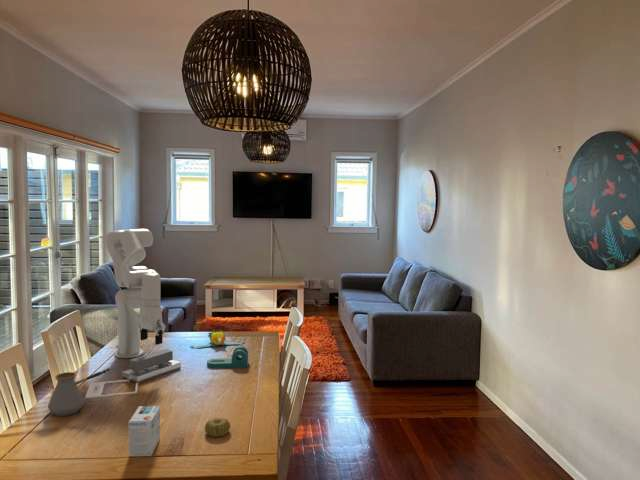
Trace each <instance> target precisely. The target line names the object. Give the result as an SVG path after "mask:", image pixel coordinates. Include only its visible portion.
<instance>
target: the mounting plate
mask: <svg viewBox="0 0 640 480" xmlns="http://www.w3.org/2000/svg"><path fill="white" fill-rule="evenodd" d="M181 364H182V363H181V361H178V360H175V359H173V360H171V361H169V364H166V365H163V366H162V365H159V364H158V365H155V366H152V367H149V368H146V369H145V372H143V373H140V374H138V373H135V371H134V370H131V369H130V368H129V369H127V370H123V371H121V376H122V377H121V378H122V380H129V381H128V382H130V383H132V384H133V383H134V384H136V383H138V385H139V384H141V383H144V382H147V381H149V380H153V379H157V378H159V377H162V376H164V375H167V374H169V373H173V372H176V371H178V370H181V368H182V365H181Z"/></svg>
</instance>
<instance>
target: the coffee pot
mask: <svg viewBox="0 0 640 480" xmlns="http://www.w3.org/2000/svg"><path fill="white" fill-rule="evenodd" d="M107 372H109V374H110V375H112V374H113V369H112V368H107V369H103V370H101V371H99V372H96V373H93V374H91V375H89V376H87V377H85V378H83V379H82V378H81V379H80V380H78V381H75V378H76V376H77V374H76V372H72V371H71V372H70V371H69V372H62V373H59V374H56V375H55V379H56V381H57V383H56V385H55V388H54V390H53V392H52V394H51V397H50V400H49V401H48V405H47V408H48V410H49V411H50V412H51V413H52V414H54V415H55V416H59V417H64V416H70V415H74V414H76V413H77V412H79V410H80V409H81V408H83V406H84V404H85V402H86V401H85V400H86V398H85V397H84V396H83V394H82V392H81V390H80V388H79V386H78V384H81V383H83V382H85V381H88V380H91V379H94V378H96V377H100V376H101V375H103V374H106V373H107Z"/></svg>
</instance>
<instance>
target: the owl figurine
mask: <svg viewBox="0 0 640 480" xmlns="http://www.w3.org/2000/svg"><path fill="white" fill-rule="evenodd" d="M207 336H208V338H209V339H210V340H209V341H210V342H211V343H208V344H202V345H196V346H194V345H190V346H189V347H190V348H191V350H196V349H201V348H202V349H203V348H210V347H217V346H230V345H233V346H234V345H236V346H237V345H240V346H241V345H244V344H242V343H245V341H243V340H242V341H240V342H241V344H240V343H234V342H225V341H226V338H227V337H226V333H225V332H224V330H222V329H214V330H212V331H211V332H208V334H207Z"/></svg>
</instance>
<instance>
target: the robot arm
mask: <svg viewBox="0 0 640 480" xmlns="http://www.w3.org/2000/svg"><path fill="white" fill-rule="evenodd" d="M153 243H154V236H153V233H152V231H150V230H149V229H147V228H135V229H134V228H131V229H129V228H128V229H120V230H119V229H118V230H117V229H116V230H111V231H109V232H108V233H107V234H106V236H105V245H106V249H107V251H108V253H109V256H110V257H111V260H112V265H113V271H114V278H115V282H116V285H117V286H118V287H120V288H124V289H121V290H118V291H117V292H116V294H115V296H114V297H115V298H114V300H115V305H116V306H115V307H116V311H117V312H116V313H117V335H118V336H117V337H118V343H117V344H115V348H116V349H117V351H116V352H115V353H114V355H115V357H116V358H118V359H134V358H138V357H141V356H143V354H144V350H143V349H142V348H141V341H144V340H148V337H149V336H148V331H150V332H154V333H155V338H154V339H155V340H154V342H155V343H154V345H156V346H159V345H161V344H163V335H164V333H165V332H166V331H165V330H166V327H167V326H166V324H165V323H164V322H163V312H162V306H161V305H162V303H161V302H162V301H161V275H160V273H158V272H157V271H156V270H155V269H149V268H148V267H147V266H145V265H137V264H139V263H141V262H142V261H144V259H145V258H146V256H147V253H146V250H145V248H147V247H151V246H152V245H153ZM135 265H137V266H135ZM135 309H139V314H138V313H137V312H136V311H135Z"/></svg>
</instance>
